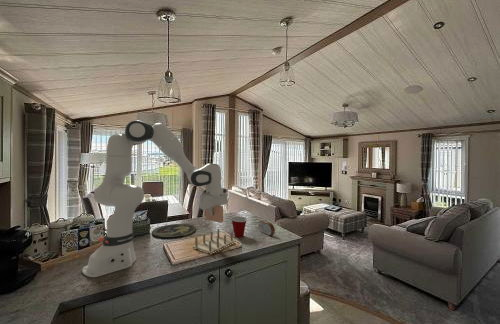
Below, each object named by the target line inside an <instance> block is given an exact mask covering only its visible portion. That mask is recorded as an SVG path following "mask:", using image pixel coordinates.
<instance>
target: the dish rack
mask: <svg viewBox="0 0 500 324" xmlns="http://www.w3.org/2000/svg"><path fill="white" fill-rule="evenodd" d="M209 233H210V238H209V239H207V240H206V234H205V233H203V235H202V241H201V242H199V243H198V237H197V236H196V237H194V240H195V242H194V243H195V244H193V245H192V249H193V248H196V249H199V250H202V251H205V252H209V253H211V254H212V253H213V252H215V251H218V250H220V249H222V248H224V247H226V246H228V245H230V244H232V243H234V242H235V243H236V240H234V239H233V235H234V234H233V233H234V231H231V232H230V238H227V235H226V234H223V236H220V228H217V232H216V233H217V236H214V237H213V231H210V232H209ZM228 247H229V246H228ZM226 248H227V247H226ZM196 249H195V250H196ZM224 249H225V248H224ZM199 250H198V251H199ZM222 250H223V249H222ZM202 251H201V252H202ZM220 251H221V250H220ZM205 252H204V253H205ZM218 252H219V251H218ZM211 254H210V255H211ZM212 255H213V254H212Z"/></svg>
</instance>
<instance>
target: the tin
mask: <svg viewBox="0 0 500 324" xmlns="http://www.w3.org/2000/svg"><path fill="white" fill-rule="evenodd" d="M258 230H259V232H260V233H261V234H264V235H266V236H273V235H275V233H276V232H275V231H276V230H275V226H274V224H273V223H272V222H269V221H267V220H264V219H263V220H262V219H261V220H260V221H259V222H258Z"/></svg>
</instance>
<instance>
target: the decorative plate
mask: <svg viewBox="0 0 500 324" xmlns="http://www.w3.org/2000/svg"><path fill="white" fill-rule="evenodd" d="M196 232H197V227H196V225H193V224H189V223H173V224H166V225H161V226H159V227H155V228H154V229H153V230H152V231H151V236H152V237H153V238H154V239H159V240H174V239H175V240H177V239H182V238H186V237H189V236H191V235H193V234H195V233H196Z"/></svg>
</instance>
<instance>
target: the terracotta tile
mask: <svg viewBox="0 0 500 324" xmlns="http://www.w3.org/2000/svg"><path fill="white" fill-rule="evenodd" d="M204 211H205V220H207V221H211V222H215V223H223V222H224V205H221V206H219V205H217V206H215V207H213V209H212V211H213V212H214V215H210V212H209V210H208V209H206V210H204Z"/></svg>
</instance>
